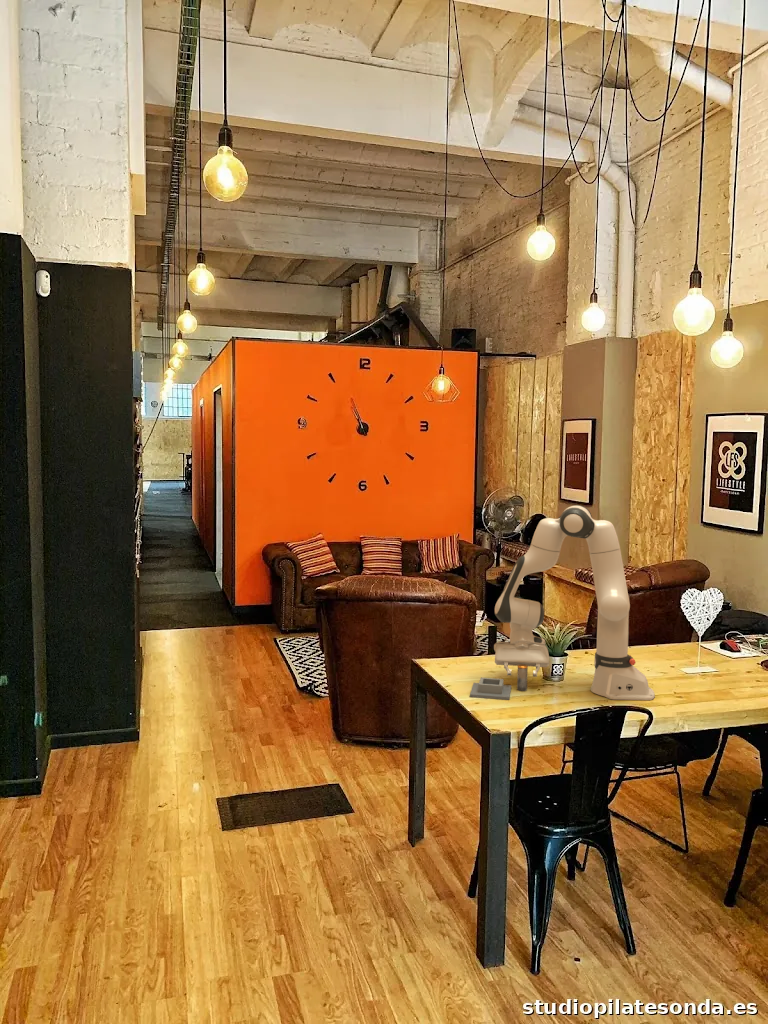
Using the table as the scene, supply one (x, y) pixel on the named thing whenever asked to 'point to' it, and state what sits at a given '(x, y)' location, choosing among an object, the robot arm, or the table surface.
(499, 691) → the grey square socket base
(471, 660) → the table surface
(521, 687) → the pivot pin
